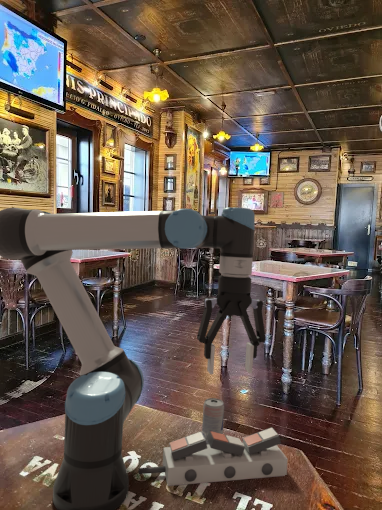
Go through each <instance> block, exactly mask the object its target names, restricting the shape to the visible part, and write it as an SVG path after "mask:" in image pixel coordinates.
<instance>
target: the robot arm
mask: <svg viewBox="0 0 382 510" xmlns="http://www.w3.org/2000/svg"><path fill="white" fill-rule="evenodd" d="M255 216H256V214H255V211H254V210H253V209H251V208H247V207H235V206H234V207H230V206H229V207H224V208H223V210H222V213H221V215H205V214H204V215H202V214H201V213H200V212H198V211H197V210H194V209H192V208H179V209H176V210H163V211H162V210H149V211H148V210H147V211H145V210H143V211H114V212H113V211H109V212H108V211H107V212H78V213H76V212H75V213H50V212H48V211H43V210H41V209H35V208H34V209H27V208H22V207H7V208H4V209H1V210H0V257H1V258H4V259H8V260H15V261H21V263H22V265H23V267H24V269H25V270H26V273H27V274H28V275H33V276H36V278H37V280H38V282H39V284H40V285H41V288H42V289H43V291H44V294H45V296H46V297H47V299H48V300H49V303H50V305H51V306H52V309H53V311H54V313H55V314H56V317H57V318H58V320H59V322H60V324H61V326H62V328H63V330H64V333H66V336H67V338H68V340H69V342H70V344H71V346H72V348H73V350H74V351H75V353H76V355H77V358H78V359H79V361H80V363H81V367H80V370H79V376H78V377H76V378H75V379H74V380H73V381H72V382H71V383H70V385H69V386H68V388H67V391H66V397H65V401H64V413H65V414H64V415H65V416H64V440H63V442H64V443H63V444H64V445H63V459H62V462H61V465H60V466H59V467H60V468H59V469H58V472H57V476H56V478H55V480H54V483H53V487H52V488H53V490H52V502H53V505H54V508H55V509H56V510H116V509H118V508H119V507H120V506H121V505H122V504H124V502H125V500H126V499H127V497H128V494H129V483H130V482H129V481H130V480H129V474H128V471H127V468H126V464H125V460H124V457H123V453H122V452H123V450H122V449H123V434H124V431H123V430H124V422H125V421H126V419H127V417H128V416H129V415H130V413H131V411H132V409H133V408H134V406H135V405H136V404H137V403H138V401H139V400H140V398H141V397H142V396H141V395H142V392H143V388H144V384H145V383H144V380H145V379H144V374H143V371H142V369H141V367H140V365H139V364H138V363H137V362H136V361H134V360H133V359H130V358H128V356H127V354H126V352H125V350H124V349H123V348H122V347H118V346H115V345H114V343H113V341H112V339H111V337H110V335H109V333H108V331H107V329H106V327H105V324H103V322H102V320H101V318H100V315H99V313H98V311H97V310H96V308H95V305H94V304H93V303H92V300H91V298H90V296H89V294H88V292H87V290H86V289H85V287H84V285H83V283H82V281H81V279H80V277H79V274H77V271H76V269H75V267H74V266H73V263H72V262H71V260H72V255H73V254H74V253H73V251H83V250H84V251H85V250H86V251H87V250H89V251H90V250H136V249H137V250H139V249H147V250H148V249H182V250H186V249H187V250H188V249H195V248H200V249H204V248H205V249H219V251H220V252H219V266H218V272H219V273H220V274H221V275H219V276H218V286H217V295H216V296H215V298H207V297H206V298H204V299H203V306H204V308H203V311H202V316H201V320H200V323H199V328H198V332H197V335H196V339H197V341H199V343H202V344H204V349H203V350H204V351H203V356H204V358H205V359H206V360H207V366H206V367H207V369H206V370H207V372H208V374H209V375H214V371H215V367H214V366H215V353H216V352H215V351H216V346H215V344H214V343H213V342H214V341H215V338H216V337H217V335H218V333H219V331H220V329H221V327H222V325H223V323H224V321H225V320H227V317H231V316H232V317H233V316H236V317H239V318H240V320H241V323H242V324H243V328H244V329H245V331H246V334H247V337H248V339H249V342H246V345H245V346H246V347H245V348H246V349H245V360H244V361H245V363H244V364H245V365H244V370H245V371H246V372H247V373H248V374H253V365H254V364H253V363H254V359H257V357H258V346H260V344H261V343H265V342H266V341H267V340H266V331H265V324H264V317H263V305H264V302H263V301H262V300H260V299H258V298H256V299H255V298H254V299H253V298H252V296H251V291H252V278H251V277H250V276H251V275H252V274H253V259H254V256H253V254H254V246H255V245H254V244H255V242H254V241H255V227H256V226H255V224H256V221H255ZM215 305H217V306H218V307H219V309H218V311H217V313H216V316H215V318H214V320H213V322H212V324H211V326H210V327H209V325H210V321H211V317H212V314H213V313H212V312H213V309H214V308H215ZM250 306H251V308H252V309H253V310H252V311H253V318H254V319H253V320H254V327H255V329H254V328H253V325H252V323H251V320H250V316H249V313H248V311H247V309H249V307H250Z"/></svg>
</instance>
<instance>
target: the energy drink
mask: <svg viewBox="0 0 382 510" xmlns="http://www.w3.org/2000/svg"><path fill="white" fill-rule="evenodd" d="M202 409H203V411H202V424H201V425H202V426H201V429H202V430H201V431H202V434H203V436H204V438H205V440H206V444H207V445H209V443H208V441H207V436H208V433H209V431H212V432H216V433H220V434H224V433H223V432H224V418H225V417H224V416H225V414H224V413H225V404H224V401H223V400H221V399H219V398H215V397H209V398H206V399H205V400H204V402H203V407H202Z"/></svg>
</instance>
